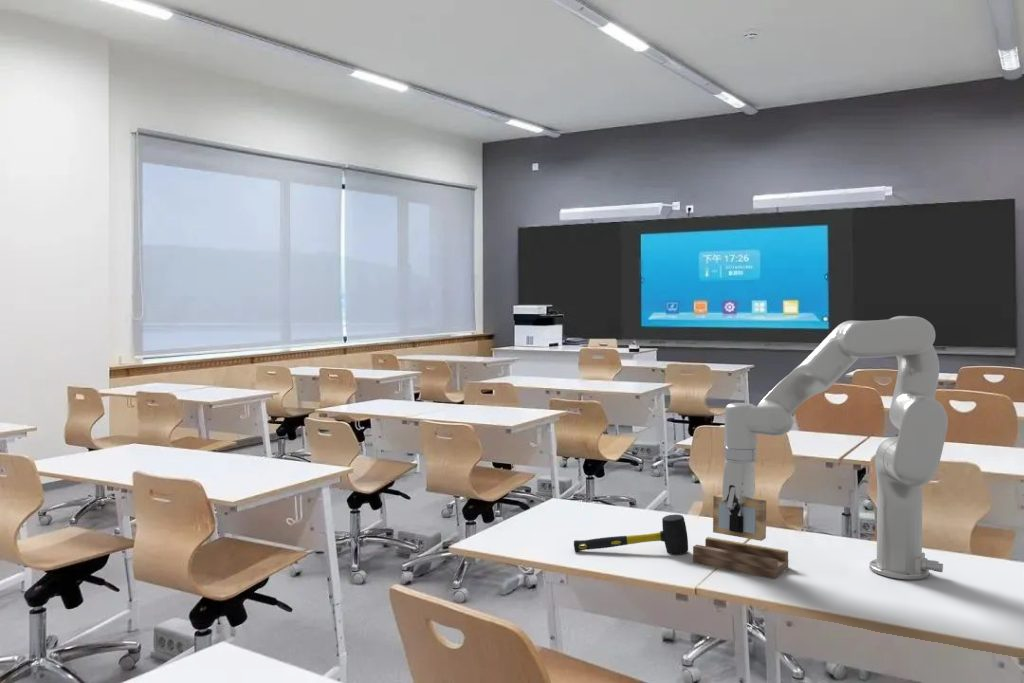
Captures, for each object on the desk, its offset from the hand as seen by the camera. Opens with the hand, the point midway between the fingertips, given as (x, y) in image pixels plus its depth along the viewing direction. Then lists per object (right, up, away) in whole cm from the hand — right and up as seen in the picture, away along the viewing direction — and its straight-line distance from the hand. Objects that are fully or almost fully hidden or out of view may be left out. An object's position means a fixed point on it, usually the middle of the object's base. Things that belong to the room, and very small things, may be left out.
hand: (739, 529), depth 190 cm
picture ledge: (0, -9, 0) cm, 9 cm away
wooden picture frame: (0, -1, 0) cm, 1 cm away
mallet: (-24, -9, +12) cm, 29 cm away
